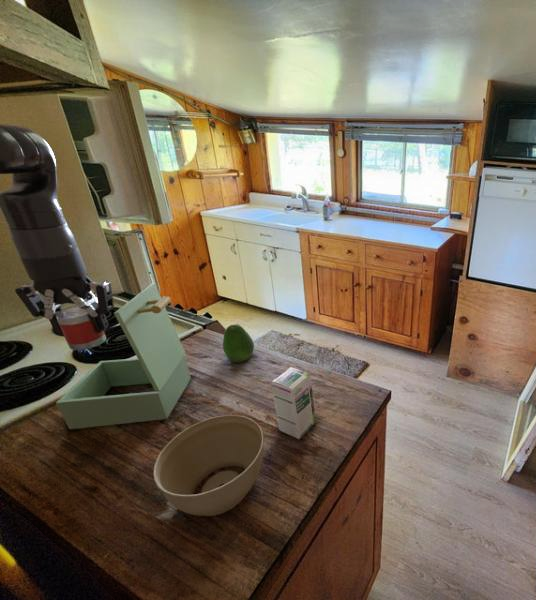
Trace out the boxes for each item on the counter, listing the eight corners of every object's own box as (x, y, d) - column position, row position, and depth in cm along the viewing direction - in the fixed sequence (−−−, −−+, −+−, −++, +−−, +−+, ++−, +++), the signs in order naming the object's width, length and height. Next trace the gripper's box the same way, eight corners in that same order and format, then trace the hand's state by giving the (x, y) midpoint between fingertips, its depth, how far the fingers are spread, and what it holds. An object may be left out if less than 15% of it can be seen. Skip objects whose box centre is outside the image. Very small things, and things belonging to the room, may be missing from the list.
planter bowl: (203, 562, 49) (187, 518, 44) (153, 503, 57) (134, 460, 52) (289, 481, 61) (282, 440, 57) (238, 441, 69) (228, 402, 65)
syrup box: (299, 442, 70) (293, 389, 63) (278, 433, 72) (270, 380, 66) (316, 424, 74) (311, 373, 68) (296, 415, 76) (290, 365, 70)
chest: (71, 432, 69) (55, 402, 66) (111, 387, 82) (99, 361, 79) (168, 422, 73) (158, 393, 70) (191, 380, 86) (184, 354, 83)
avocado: (220, 364, 93) (212, 327, 88) (242, 350, 100) (235, 315, 95) (241, 371, 90) (233, 334, 85) (262, 357, 97) (256, 322, 92)
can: (62, 351, 63) (47, 319, 60) (81, 336, 68) (68, 306, 65) (96, 349, 64) (83, 318, 61) (112, 334, 69) (101, 305, 66)
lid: (113, 312, 61) (143, 308, 62) (150, 283, 74) (175, 280, 75) (155, 392, 69) (181, 387, 70) (182, 353, 82) (204, 350, 83)
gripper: (108, 244, 63) (134, 321, 70) (17, 245, 60) (54, 325, 67) (83, 256, 56) (115, 339, 63) (-21, 257, 53) (24, 345, 60)
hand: (83, 331), depth 65 cm, fingers closed on can, 5 cm apart
